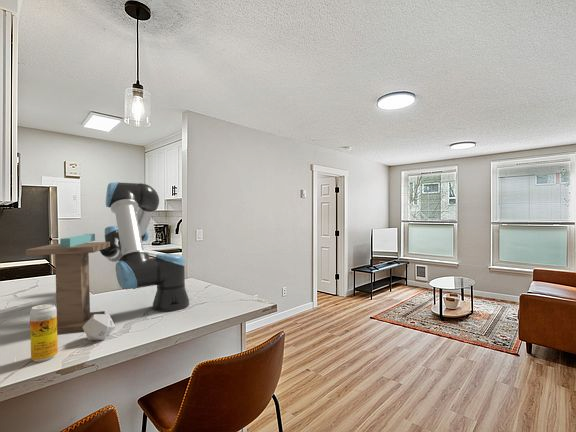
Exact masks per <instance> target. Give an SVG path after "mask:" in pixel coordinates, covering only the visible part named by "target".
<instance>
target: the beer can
mask: <svg viewBox="0 0 576 432" xmlns="http://www.w3.org/2000/svg"><path fill="white" fill-rule="evenodd" d="M29 326H30V327H29V330H30V337H29V338H30V359H31V360H32V361H33V362H35V363H40V362H41V363H42V362H47V361H49V360H51V359H54V358H55V357H56V355H57V354H58V353H59V350H58V349H59V347H58V346H59V345H58V334H57V306H56V305H55V304H54V303H44V304H39V305H36V306H32V307H31V310H30V312H29Z"/></svg>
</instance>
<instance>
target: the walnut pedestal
mask: <svg viewBox="0 0 576 432" xmlns="http://www.w3.org/2000/svg"><path fill="white" fill-rule="evenodd" d="M108 247H110V242H105V241H99V242H94V241H91V242H88V243H83V244H80V245H76V246H72V247H60V243H51V244H47V245H42V246H37V247H32V248H27V249H25V256H46V255H50V256H51V255H52V256H53V255H54V262H55V263H54V266H55V301H56V305H55V307H56V308H57V335H59V334H66V333H67V334H69V333H77V332H78V333H79V332H84V330H83V328H82V327H83V326H84V325H85V324H86V323H87V321H88V320H89V319H90V318H91V317H92V316H93V315H94V314H106V311H105V310H102V311H101V310H100V311H91V303H90V301H91V300H90V298H91V297H90V295H91V294H90V263H89V261H90V259H89V254H91V253H92V254H93V253H96V252H100V251H99V250H102V249H105V248H108Z"/></svg>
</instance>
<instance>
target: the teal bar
mask: <svg viewBox="0 0 576 432" xmlns="http://www.w3.org/2000/svg"><path fill="white" fill-rule="evenodd" d="M94 241H96V234H95V233H85V234H79V235H75V236H68V237H63V238H60V241H59V242H60V243H59V244H60V247H72V246H76V245H80V244H83V243H87V242H88V243H92V242H94Z"/></svg>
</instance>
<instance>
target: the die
mask: <svg viewBox="0 0 576 432" xmlns="http://www.w3.org/2000/svg"><path fill="white" fill-rule="evenodd" d="M82 328H83V330H84V331H83V332H84V334H85V336H86V337H87V340H88V341H105V340H106V339H107V338H108V337H109V335H111V333H112V332H113V330H114V329H115V328H116V325H115V323H114V321H113V319H112V317H111V315H110V313H105V314H94V315H93V316H92V317H91V318H90V319H89V320H88V321H87V323H86V324H85V325H84V326H83V327H82Z"/></svg>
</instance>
